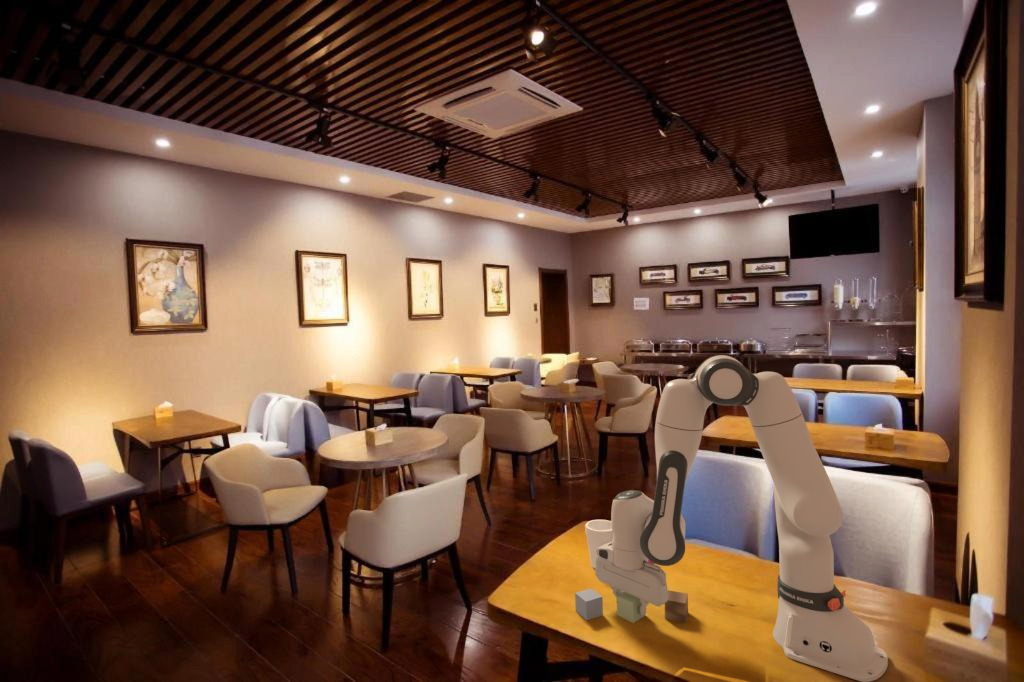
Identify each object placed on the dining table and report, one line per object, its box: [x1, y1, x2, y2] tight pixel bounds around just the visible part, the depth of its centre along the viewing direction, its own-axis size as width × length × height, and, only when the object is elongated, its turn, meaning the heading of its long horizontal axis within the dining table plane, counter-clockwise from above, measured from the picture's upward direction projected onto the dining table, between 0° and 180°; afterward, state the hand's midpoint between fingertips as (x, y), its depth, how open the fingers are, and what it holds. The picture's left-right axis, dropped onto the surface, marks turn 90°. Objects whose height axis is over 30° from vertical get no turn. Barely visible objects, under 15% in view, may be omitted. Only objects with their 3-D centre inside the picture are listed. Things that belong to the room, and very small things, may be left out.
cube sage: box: [616, 592, 646, 624], centre depth 137 cm, size 5×5×5 cm
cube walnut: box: [664, 589, 689, 624], centre depth 137 cm, size 5×5×5 cm
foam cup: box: [584, 519, 613, 570], centre depth 164 cm, size 10×9×13 cm
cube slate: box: [574, 588, 604, 621], centre depth 139 cm, size 5×5×5 cm
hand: (631, 608), depth 138 cm, fingers closed on cube sage, 5 cm apart
